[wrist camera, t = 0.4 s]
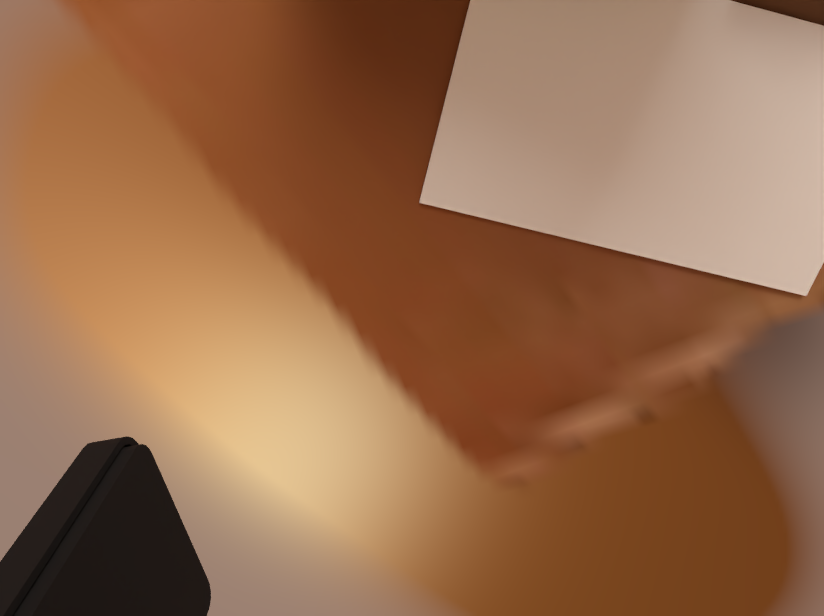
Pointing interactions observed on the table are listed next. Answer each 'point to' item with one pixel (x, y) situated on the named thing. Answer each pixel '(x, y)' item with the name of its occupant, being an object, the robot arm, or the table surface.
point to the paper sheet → (642, 131)
